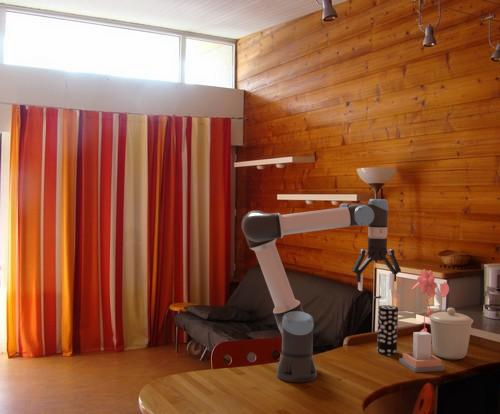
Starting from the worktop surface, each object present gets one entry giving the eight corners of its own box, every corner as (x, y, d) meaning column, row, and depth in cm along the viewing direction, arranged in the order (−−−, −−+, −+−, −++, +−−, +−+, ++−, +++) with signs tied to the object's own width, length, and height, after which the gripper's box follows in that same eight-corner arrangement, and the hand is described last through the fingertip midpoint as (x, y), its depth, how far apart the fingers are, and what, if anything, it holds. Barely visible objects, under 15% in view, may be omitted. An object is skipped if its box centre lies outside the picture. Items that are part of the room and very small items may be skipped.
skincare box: (425, 360, 234) (426, 331, 233) (431, 363, 229) (432, 334, 229) (411, 360, 233) (412, 331, 232) (416, 364, 228) (417, 334, 228)
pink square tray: (414, 372, 223) (414, 362, 223) (399, 361, 236) (399, 352, 236) (444, 370, 226) (444, 360, 226) (427, 360, 239) (428, 350, 239)
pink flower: (419, 335, 277) (420, 264, 275) (456, 350, 253) (458, 272, 252) (393, 339, 272) (394, 266, 270) (429, 354, 248) (430, 275, 246)
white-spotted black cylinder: (398, 355, 244) (400, 309, 243) (379, 355, 244) (380, 309, 243) (394, 350, 252) (395, 305, 252) (375, 349, 253) (376, 305, 252)
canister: (442, 347, 258) (443, 301, 257) (480, 357, 244) (481, 309, 243) (419, 354, 246) (420, 306, 246) (457, 365, 233) (459, 314, 232)
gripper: (352, 238, 222) (350, 292, 223) (410, 238, 228) (408, 291, 229) (344, 236, 230) (343, 288, 231) (401, 236, 235) (400, 287, 236)
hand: (375, 290), depth 230 cm, fingers open, 13 cm apart
